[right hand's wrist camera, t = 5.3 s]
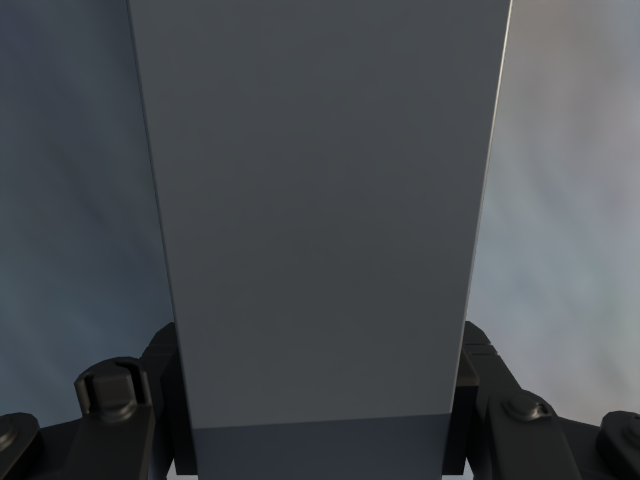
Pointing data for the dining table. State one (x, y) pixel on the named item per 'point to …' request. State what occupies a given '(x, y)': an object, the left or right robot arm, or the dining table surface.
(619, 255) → the dining table surface
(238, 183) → the beam
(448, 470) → the right robot arm
